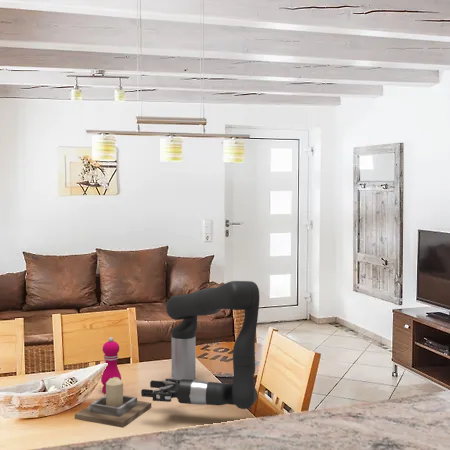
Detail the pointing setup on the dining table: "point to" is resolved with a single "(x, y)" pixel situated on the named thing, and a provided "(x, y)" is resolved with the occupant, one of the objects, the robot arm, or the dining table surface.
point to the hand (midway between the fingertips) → (146, 388)
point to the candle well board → (113, 411)
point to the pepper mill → (110, 362)
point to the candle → (114, 392)
